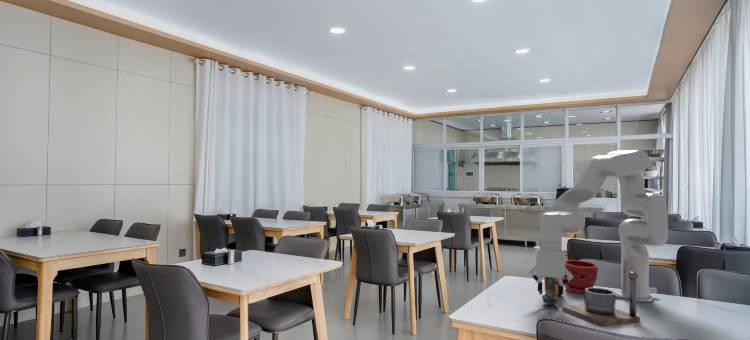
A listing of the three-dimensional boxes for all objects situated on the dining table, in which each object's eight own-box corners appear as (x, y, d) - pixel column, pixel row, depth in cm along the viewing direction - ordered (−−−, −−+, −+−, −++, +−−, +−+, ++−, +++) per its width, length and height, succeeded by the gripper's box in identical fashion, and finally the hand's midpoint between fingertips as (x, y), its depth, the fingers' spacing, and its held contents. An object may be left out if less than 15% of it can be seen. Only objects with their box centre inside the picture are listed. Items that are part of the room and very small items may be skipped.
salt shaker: (560, 309, 156) (560, 276, 156) (543, 308, 157) (543, 275, 157) (556, 305, 162) (557, 273, 162) (540, 303, 163) (540, 272, 163)
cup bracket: (599, 306, 161) (599, 262, 161) (640, 321, 145) (640, 272, 145) (562, 310, 156) (562, 264, 156) (600, 326, 140) (600, 274, 140)
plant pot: (559, 291, 181) (559, 263, 181) (567, 285, 192) (567, 258, 192) (593, 297, 173) (594, 267, 173) (600, 290, 184) (600, 262, 184)
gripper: (524, 245, 160) (524, 294, 160) (576, 249, 153) (575, 300, 152) (527, 242, 167) (527, 289, 167) (576, 246, 159) (576, 295, 159)
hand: (550, 294), depth 160 cm, fingers open, 5 cm apart
